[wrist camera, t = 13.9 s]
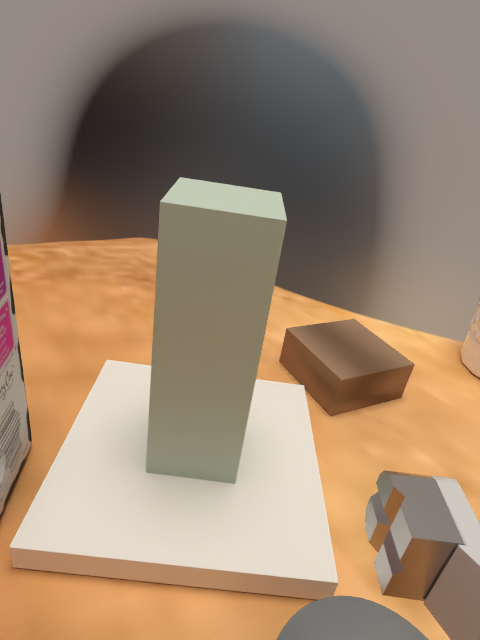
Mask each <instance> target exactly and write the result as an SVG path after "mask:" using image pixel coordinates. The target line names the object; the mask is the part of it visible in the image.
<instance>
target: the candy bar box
mask: <svg viewBox="0 0 480 640" xmlns="http://www.w3.org/2000/svg"><path fill="white" fill-rule="evenodd" d="M0 430H1V435H2V437H1V438H0V448H1V449H2V450H3V451H4V452H5V459H6V463H5V472H4V475H3V478H2V481H1V484H0V517H1V515H2V513H3V510H4V508H5V506H6V503H7V501H8V498H9V495H10V492H11V490H12V488H13V486H14V483H15V481H16V479H17V478H18V475H19V473H20V470H21V469H22V467H23V465H24V463H25V460H26V458H27V455H28V452H29V450H30V448H31V444H32V440H31V429H30V421H29V413H28V407H27V400H26V393H25V384H24V376H23V367H22V360H21V353H20V345H19V339H18V329H17V321H16V314H15V306H14V298H13V291H12V283H11V278H10V267H9V259H8V250H7V244H6V236H5V227H4V218H3V211H2V204H1V195H0Z"/></svg>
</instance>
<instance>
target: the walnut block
mask: <svg viewBox="0 0 480 640" xmlns="http://www.w3.org/2000/svg"><path fill="white" fill-rule="evenodd" d="M279 361H280V362H281V364H282V365H283V366H284V367H285V368H286V369H287V370H288V371H289V372H290V373H291V374H292V375H293V376H294V378H295V379H296V380H297V381H298V382H299V383H300V384H301V385H304V388H305V389H306V390H307V392H308V393H309V394H310V395H311V396H312V397H313V398H314V399H315V400H316V401H317V402H318V403H319V404H320V406H321V407H322V408H323V409H324V410H325V411H326V412H327V413H328V414H329V415H330V416H333V415H337V414H341V413H344V412H348V411H352V410H356V409H360V408H363V407H367V406H371V405H375V404H379V403H382V402H386V401H390V400H394V399H398V398H401V397H402V394H403V392H404V389H405V387H406V384H407V382H408V379H409V377H410V374H411V372H412V369H413V367H414V363H412V362H411V361H410V360H408V359H407V358H406V357H404V356H403V355H402V354H400V353H399V352H398V351H396V350H395V349H394V348H392V347H391V346H390V345H388V344H387V343H386V342H384V341H383V340H382V339H380V338H379V337H378V336H376V335H375V334H373V333H372V332H371V331H369V330H368V329H367V328H365V327H364V326H363V325H361V324H360V323H359V322H357V321H356V320H355V319H351V320H343V321H336V322H329V323H321V324H314V325H307V326H300V327H292V328H287V329H286V333H285V338H284V342H283V347H282V351H281V356H280V360H279Z"/></svg>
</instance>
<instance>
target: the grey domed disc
mask: <svg viewBox="0 0 480 640" xmlns="http://www.w3.org/2000/svg"><path fill="white" fill-rule="evenodd" d="M277 640H428V639H427V638H426V637H425V636H424V635H423V634H422V633H421V632H420V631H419V630H418V629H417V628H416V627H415V626H413V625H412V624H411V623H410V622H409V621H407V620H406V619H404V618H403V617H401V616H400V615H399V614H397V613H395V612H394V611H392V610H390V609H388V608H387V607H385V606H382V605H380V604H378V603H375V602H373V601H370V600H366V599H363V598H358V597H352V596H333V597H326V598H323V599H319V600H316V601H314V602H312V603H310V604H308V605H306V606H305V607H303V608H302V609H300V610H299V611H298V612H297V613H296V614H295V615H293V616H292V617H291V618H290V620H289V621H288V622H287V623H286V625H285V626H284V627H283V629H282V631H281V632H280V634H279V636H278V638H277Z"/></svg>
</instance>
